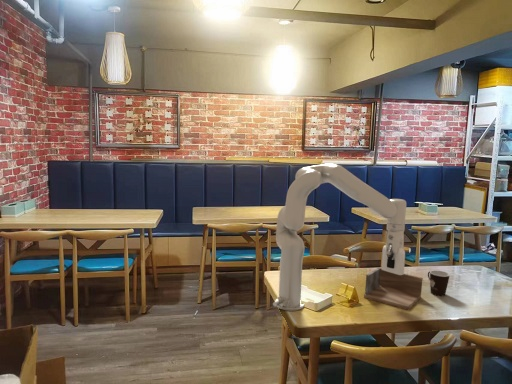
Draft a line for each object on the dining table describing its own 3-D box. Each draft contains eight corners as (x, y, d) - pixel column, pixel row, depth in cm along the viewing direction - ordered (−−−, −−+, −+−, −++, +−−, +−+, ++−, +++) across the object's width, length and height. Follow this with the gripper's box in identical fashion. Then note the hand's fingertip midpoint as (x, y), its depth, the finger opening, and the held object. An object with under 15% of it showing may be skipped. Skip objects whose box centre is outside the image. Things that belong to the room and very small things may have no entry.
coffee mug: (449, 298, 186) (451, 277, 185) (430, 296, 188) (432, 275, 187) (443, 288, 198) (445, 269, 196) (425, 287, 199) (426, 267, 198)
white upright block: (379, 269, 184) (381, 243, 182) (384, 268, 186) (386, 242, 185) (400, 276, 176) (402, 248, 174) (405, 274, 178) (407, 247, 177)
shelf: (408, 309, 172) (409, 286, 171) (363, 297, 184) (365, 275, 183) (420, 297, 186) (422, 275, 185) (379, 286, 198) (380, 266, 197)
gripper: (397, 231, 169) (394, 272, 172) (410, 225, 182) (407, 263, 185) (380, 228, 174) (377, 269, 176) (394, 222, 187) (391, 260, 190)
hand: (392, 265), depth 181 cm, fingers closed on white upright block, 5 cm apart
